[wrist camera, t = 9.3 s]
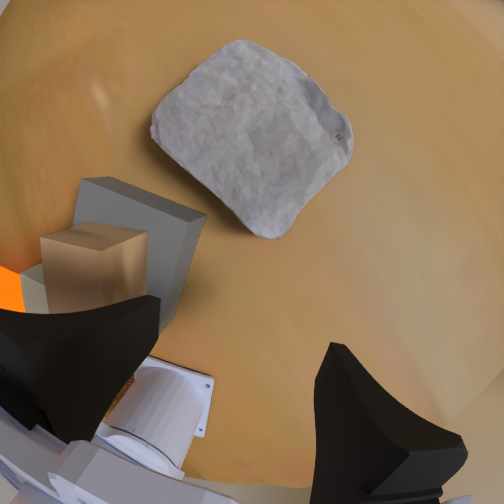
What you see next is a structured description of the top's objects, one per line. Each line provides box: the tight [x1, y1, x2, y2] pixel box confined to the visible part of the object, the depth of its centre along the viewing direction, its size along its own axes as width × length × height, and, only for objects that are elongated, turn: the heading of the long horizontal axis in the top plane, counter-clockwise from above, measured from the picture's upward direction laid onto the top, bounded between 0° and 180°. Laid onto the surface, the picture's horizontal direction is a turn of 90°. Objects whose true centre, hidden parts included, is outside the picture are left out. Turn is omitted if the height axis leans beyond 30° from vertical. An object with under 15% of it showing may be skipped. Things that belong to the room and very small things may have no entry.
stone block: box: [150, 39, 354, 239], centre depth 17 cm, size 12×5×10 cm
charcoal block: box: [72, 177, 207, 334], centre depth 20 cm, size 9×9×4 cm
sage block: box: [20, 263, 50, 314], centre depth 22 cm, size 5×5×5 cm
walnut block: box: [40, 222, 148, 314], centre depth 16 cm, size 5×5×5 cm
